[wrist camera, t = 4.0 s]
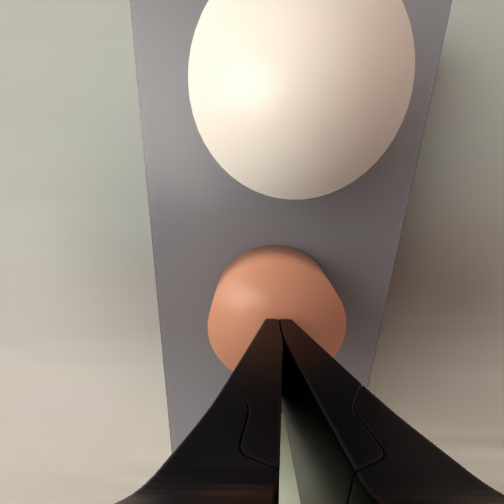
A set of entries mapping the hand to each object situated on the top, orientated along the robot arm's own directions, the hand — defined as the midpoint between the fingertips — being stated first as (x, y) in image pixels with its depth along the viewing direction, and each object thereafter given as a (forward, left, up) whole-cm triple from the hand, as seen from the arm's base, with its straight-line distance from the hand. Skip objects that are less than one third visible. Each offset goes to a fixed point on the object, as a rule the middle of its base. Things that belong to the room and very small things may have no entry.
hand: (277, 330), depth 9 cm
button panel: (0, 0, -5) cm, 5 cm away
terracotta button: (0, 0, -2) cm, 2 cm away
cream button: (+4, +5, -1) cm, 7 cm away
